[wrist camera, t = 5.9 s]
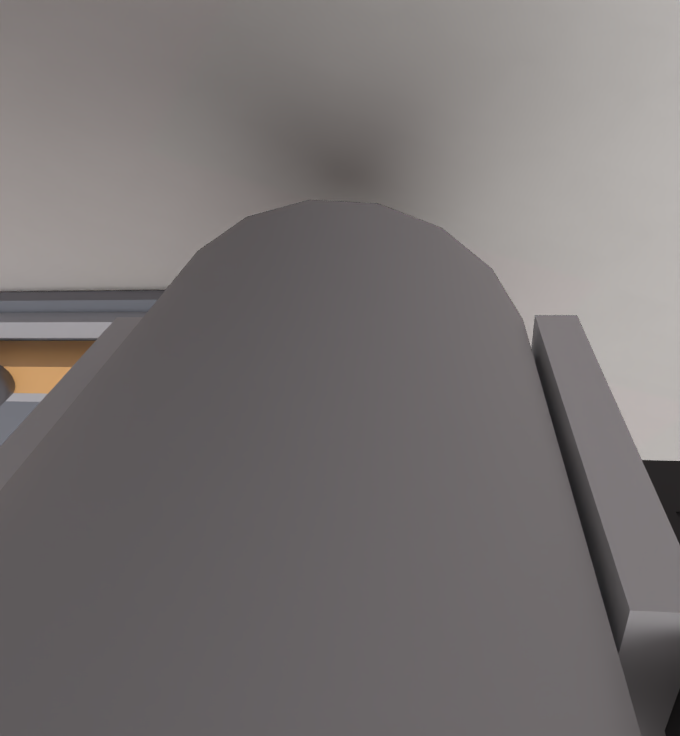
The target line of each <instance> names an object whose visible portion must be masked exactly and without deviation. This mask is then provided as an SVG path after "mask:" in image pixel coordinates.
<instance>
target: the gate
mask: <svg viewBox="0 0 680 736" xmlns="http://www.w3.org/2000/svg"><path fill="white" fill-rule="evenodd" d="M94 342H95V341H0V406H1V405H2V404H3V403H4V402H5V401H6V400H7V399H8V398H9V397H10V396H11V395H12V394H13V393H42V394H48V393H49V392H50V391H51V390H52V389H53V388H54V386H55V385H56V384H57V383H58V382H59V381H60V380H61V379H62V378H63V376H64V375H65V374H66V373H67V372H68V371H69V370H70V369H71V368H72V366H73V365H74V364H75V363H76V362H77V361H78V360H79V359H80V358H81V356H82V355H83V354H84V353H85V352H86V351H87V350H88V349H89V348H90V347H91V345H92V344H93V343H94Z"/></svg>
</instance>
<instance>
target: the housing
mask: <svg viewBox="0 0 680 736" xmlns="http://www.w3.org/2000/svg"><path fill="white" fill-rule="evenodd" d="M164 291H165V290H156V291H55V292H0V341H96V340H97V339H98V338H99V337H100V335H101V334H102V333H103V332H104V331H105V330H106V329H107V328H108V327H109V325H110V324H111V323H112V322H113V321H114V320H115V319H116V318H117V317H144V316H145V314H146V313H147V312H148V311H149V310H150V308H151V307H152V306H153V305H154V303H155V302H156V301H157V300H158V299H159V297H160V296H161V295H162V294H163V293H164ZM46 395H47V394H42V393H13V394H12V395H11V396H10V397H9V398H8V399H7V400H6V401H5V402H4V403H3V404H2V405H1V406H0V446H1V445H2V444H3V443H4V442H5V441H6V440H7V439H8V437H9V436H10V435H11V434H12V433H13V432H14V431H15V430H16V429H17V427H18V426H19V425H20V424H21V423H22V422H23V421H24V420H25V419H26V417H27V416H28V415H29V414H30V413H31V412H32V411H33V410H34V409H35V408H36V406H37V405H38V404H39V403H40V402H41V401H42V400H43V399H44V398H45V396H46Z"/></svg>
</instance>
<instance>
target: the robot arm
mask: <svg viewBox="0 0 680 736" xmlns="http://www.w3.org/2000/svg"><path fill="white" fill-rule="evenodd" d="M142 318H143V317H117V318H116V319H115V320H114V321H113V322H112V323H111V324H110V325H109V327H108V328H107V329H106V330H105V331H104V332H103V333H102V334H101V335H100V337H99V338H98V339H97V340H96V341H95V342H94V343H93V344H92V345H91V347H90V348H89V349H88V350H87V351H86V352H85V353H84V354H83V355H82V356H81V358H80V359H79V360H78V361H77V362H76V363H75V364H74V365H73V366H72V368H71V369H70V370H69V371H68V372H67V373H66V374H65V375H64V376H63V378H62V379H61V380H60V381H59V382H58V383H57V384H56V385H55V386H54V388H53V389H52V390H51V391H50V392H49V393H48V394H47V395H46V396H45V398H44V399H43V400H42V401H41V402H40V403H39V404H38V405H37V406H36V408H35V409H34V410H33V411H32V412H31V413H30V414H29V415H28V416H27V417H26V419H25V420H24V421H23V422H22V423H21V424H20V425H19V426H18V427H17V429H16V430H15V431H14V432H13V433H12V434H11V435H10V436H9V437H8V439H7V440H6V441H5V442H4V443H3V444H2V445H1V446H0V490H1V489H2V488H3V486H4V485H5V484H6V483H7V482H8V480H9V479H10V478H11V477H12V476H13V474H14V473H15V472H16V471H17V469H18V468H19V467H20V466H21V465H22V463H23V462H24V461H25V460H26V459H27V457H28V456H29V455H30V454H31V453H32V451H33V450H34V449H35V448H36V446H37V445H38V444H39V443H40V442H41V440H42V439H43V438H44V437H45V436H46V434H47V433H48V432H49V431H50V429H51V428H52V427H53V426H54V425H55V423H56V422H57V421H58V420H59V419H60V417H61V416H62V415H63V414H64V413H65V411H66V410H67V409H68V408H69V406H70V405H71V404H72V403H73V402H74V400H75V399H76V398H77V397H78V396H79V394H80V393H81V392H82V391H83V389H84V388H85V387H86V386H87V385H88V383H89V382H90V381H91V380H92V379H93V377H94V376H95V375H96V374H97V373H98V371H99V370H100V369H101V368H102V366H103V365H104V364H105V363H106V362H107V360H108V359H109V358H110V357H111V356H112V354H113V353H114V352H115V351H116V349H117V348H118V347H119V346H120V345H121V343H122V342H123V341H124V340H125V339H126V337H127V336H128V335H129V334H130V333H131V331H132V330H133V329H134V328H135V326H136V325H137V324H138V323H139V322H140V320H141V319H142ZM531 350H532V353H533V357H534V360H535V364H536V367H537V371H538V374H539V378H540V381H541V385H542V388H543V392H544V395H545V399H546V402H547V406H548V409H549V413H550V416H551V420H552V423H553V427H554V430H555V434H556V438H557V441H558V445H559V448H560V452H561V455H562V459H563V462H564V466H565V469H566V473H567V476H568V480H569V483H570V487H571V490H572V494H573V497H574V501H575V504H576V508H577V511H578V515H579V518H580V522H581V525H582V529H583V532H584V536H585V539H586V543H587V546H588V550H589V553H590V557H591V560H592V564H593V567H594V571H595V575H596V578H597V582H598V585H599V589H600V592H601V596H602V599H603V603H604V606H605V610H606V613H607V617H608V620H609V624H610V627H611V631H612V634H613V638H614V641H615V645H616V648H617V652H618V655H619V659H620V662H621V666H622V669H623V673H624V676H625V680H626V683H627V687H628V690H629V694H630V697H631V701H632V704H633V708H634V712H635V715H636V719H637V722H638V726H639V729H640V733H641V736H680V461H653V460H642V459H641V457H640V455H639V453H638V450H637V448H636V446H635V444H634V442H633V439H632V437H631V435H630V433H629V430H628V428H627V426H626V424H625V421H624V419H623V417H622V415H621V412H620V410H619V408H618V406H617V403H616V401H615V399H614V397H613V395H612V392H611V390H610V388H609V386H608V383H607V381H606V379H605V377H604V374H603V372H602V370H601V368H600V365H599V363H598V361H597V359H596V357H595V354H594V352H593V350H592V348H591V345H590V343H589V341H588V339H587V336H586V334H585V332H584V330H583V327H582V325H581V323H580V321H579V318H578V316H577V315H535V320H534V329H533V339H532V348H531Z"/></svg>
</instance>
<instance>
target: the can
mask: <svg viewBox="0 0 680 736" xmlns="http://www.w3.org/2000/svg"><path fill="white" fill-rule="evenodd" d="M0 736H641V733H640V729H639V726H638V722H637V719H636V715H635V712H634V708H633V704H632V701H631V697H630V694H629V690H628V687H627V683H626V680H625V676H624V673H623V669H622V666H621V662H620V659H619V655H618V652H617V648H616V645H615V641H614V638H613V634H612V631H611V627H610V624H609V620H608V617H607V613H606V610H605V606H604V603H603V599H602V596H601V592H600V589H599V585H598V582H597V578H596V575H595V571H594V567H593V564H592V560H591V557H590V553H589V550H588V546H587V543H586V539H585V536H584V532H583V529H582V525H581V522H580V518H579V515H578V511H577V508H576V504H575V501H574V497H573V494H572V490H571V487H570V483H569V480H568V476H567V473H566V469H565V466H564V462H563V459H562V455H561V452H560V448H559V445H558V441H557V438H556V434H555V430H554V427H553V423H552V420H551V416H550V413H549V409H548V406H547V402H546V399H545V395H544V392H543V388H542V385H541V381H540V378H539V374H538V371H537V367H536V364H535V360H534V357H533V353H532V350H531V346H530V343H529V339H528V336H527V332H526V329H525V325H524V322H523V319H522V317H521V316H520V314H519V312H518V311H517V309H516V307H515V306H514V304H513V302H512V301H511V299H510V297H509V296H508V294H507V292H506V291H505V289H504V288H503V286H502V284H501V283H500V281H499V279H498V278H497V276H496V274H495V273H494V271H493V269H492V268H491V267H489V266H488V265H487V264H486V263H484V262H483V261H482V260H481V259H480V258H478V257H477V256H476V255H475V254H473V253H472V252H471V251H470V250H468V249H467V248H466V247H465V246H464V245H462V244H461V243H460V242H459V241H457V240H456V239H455V238H454V237H452V236H451V235H450V234H449V233H448V232H446V231H445V230H444V229H443V228H441V227H438V226H436V225H433V224H431V223H428V222H425V221H423V220H420V219H417V218H415V217H412V216H409V215H407V214H404V213H402V212H399V211H396V210H394V209H391V208H388V207H386V206H383V205H381V204H378V203H361V202H342V201H323V200H307V201H303V202H299V203H296V204H292V205H288V206H285V207H281V208H277V209H274V210H270V211H266V212H263V213H259V214H255V215H252V216H248V217H246V218H244V219H243V220H241V221H240V222H239V223H237V224H236V225H234V226H233V227H231V228H230V229H229V230H227V231H226V232H224V233H223V234H221V235H220V236H218V237H217V238H216V239H214V240H213V241H211V242H210V243H208V244H207V245H206V246H204V247H203V248H201V249H200V250H198V251H197V253H196V254H195V255H194V256H193V257H192V259H191V260H190V261H189V262H188V263H187V265H186V266H185V267H184V268H183V270H182V271H181V272H180V273H179V274H178V276H177V277H176V278H175V279H174V280H173V282H172V283H171V284H170V285H169V286H168V288H167V289H166V290H165V291H164V293H163V294H162V295H161V296H160V297H159V299H158V300H157V301H156V302H155V303H154V305H153V306H152V307H151V308H150V310H149V311H148V312H147V313H146V314H145V316H144V317H143V318H142V319H141V320H140V322H139V323H138V324H137V325H136V326H135V328H134V329H133V330H132V331H131V333H130V334H129V335H128V336H127V337H126V339H125V340H124V341H123V342H122V343H121V345H120V346H119V347H118V348H117V349H116V351H115V352H114V353H113V354H112V356H111V357H110V358H109V359H108V360H107V362H106V363H105V364H104V365H103V366H102V368H101V369H100V370H99V371H98V373H97V374H96V375H95V376H94V377H93V379H92V380H91V381H90V382H89V383H88V385H87V386H86V387H85V388H84V389H83V391H82V392H81V393H80V394H79V396H78V397H77V398H76V399H75V400H74V402H73V403H72V404H71V405H70V406H69V408H68V409H67V410H66V411H65V413H64V414H63V415H62V416H61V417H60V419H59V420H58V421H57V422H56V423H55V425H54V426H53V427H52V428H51V429H50V431H49V432H48V433H47V434H46V436H45V437H44V438H43V439H42V440H41V442H40V443H39V444H38V445H37V446H36V448H35V449H34V450H33V451H32V453H31V454H30V455H29V456H28V457H27V459H26V460H25V461H24V462H23V463H22V465H21V466H20V467H19V468H18V469H17V471H16V472H15V473H14V474H13V476H12V477H11V478H10V479H9V480H8V482H7V483H6V484H5V485H4V486H3V488H2V489H1V490H0Z"/></svg>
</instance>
